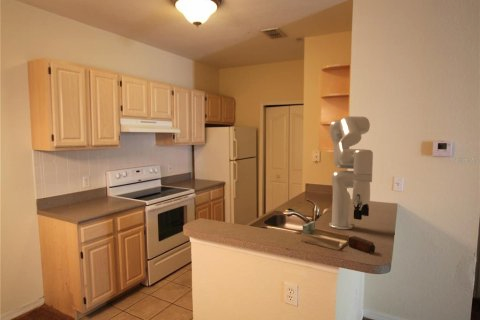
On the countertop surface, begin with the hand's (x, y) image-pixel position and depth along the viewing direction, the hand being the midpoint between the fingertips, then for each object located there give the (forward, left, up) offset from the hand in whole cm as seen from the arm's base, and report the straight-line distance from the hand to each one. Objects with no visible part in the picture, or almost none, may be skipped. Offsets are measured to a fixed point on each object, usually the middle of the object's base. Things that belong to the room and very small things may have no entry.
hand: (361, 217), depth 127 cm
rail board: (0, -16, -15) cm, 22 cm away
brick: (-2, 0, -15) cm, 15 cm away
